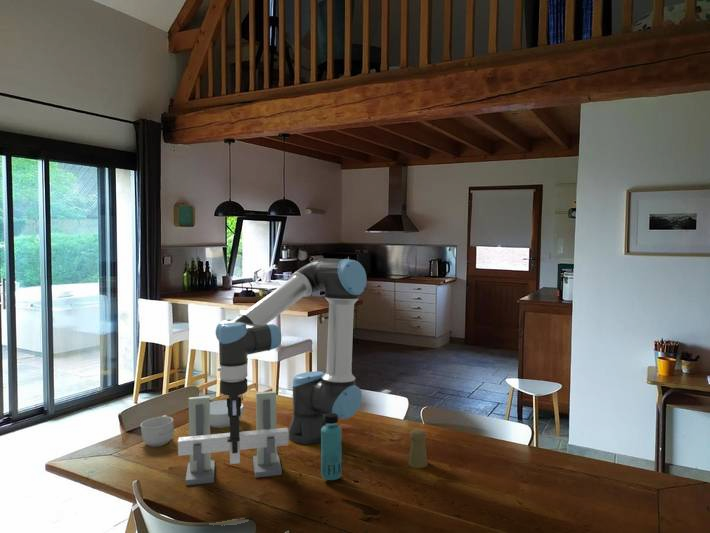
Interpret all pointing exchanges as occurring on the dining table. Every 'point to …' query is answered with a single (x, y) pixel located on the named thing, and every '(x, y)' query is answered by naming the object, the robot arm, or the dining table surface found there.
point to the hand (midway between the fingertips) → (234, 460)
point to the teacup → (157, 431)
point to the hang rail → (220, 442)
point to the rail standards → (199, 424)
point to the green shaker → (418, 449)
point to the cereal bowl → (220, 414)
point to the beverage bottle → (331, 448)
